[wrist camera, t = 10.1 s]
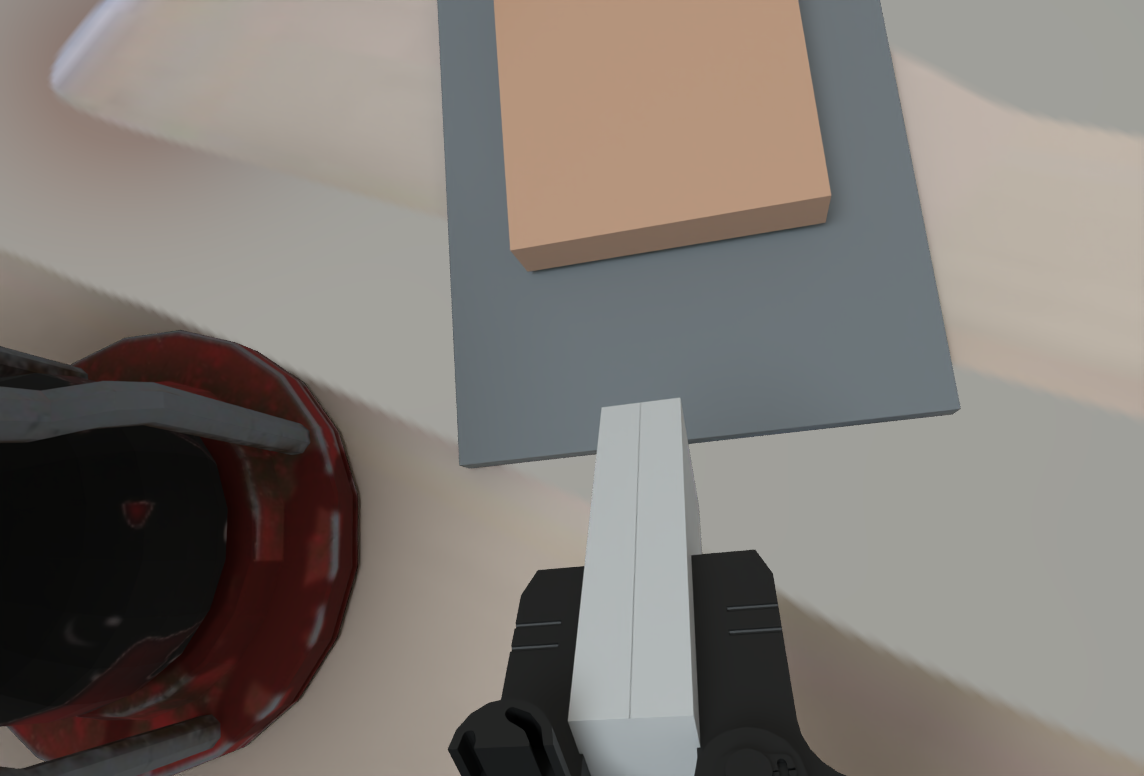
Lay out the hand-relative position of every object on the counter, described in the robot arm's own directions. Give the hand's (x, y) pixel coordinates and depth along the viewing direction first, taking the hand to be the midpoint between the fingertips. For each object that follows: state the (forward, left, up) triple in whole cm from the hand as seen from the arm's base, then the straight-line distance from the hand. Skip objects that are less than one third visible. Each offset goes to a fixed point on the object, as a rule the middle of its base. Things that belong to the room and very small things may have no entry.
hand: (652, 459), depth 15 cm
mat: (-11, +4, -11) cm, 16 cm away
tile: (-8, +3, -8) cm, 12 cm away
